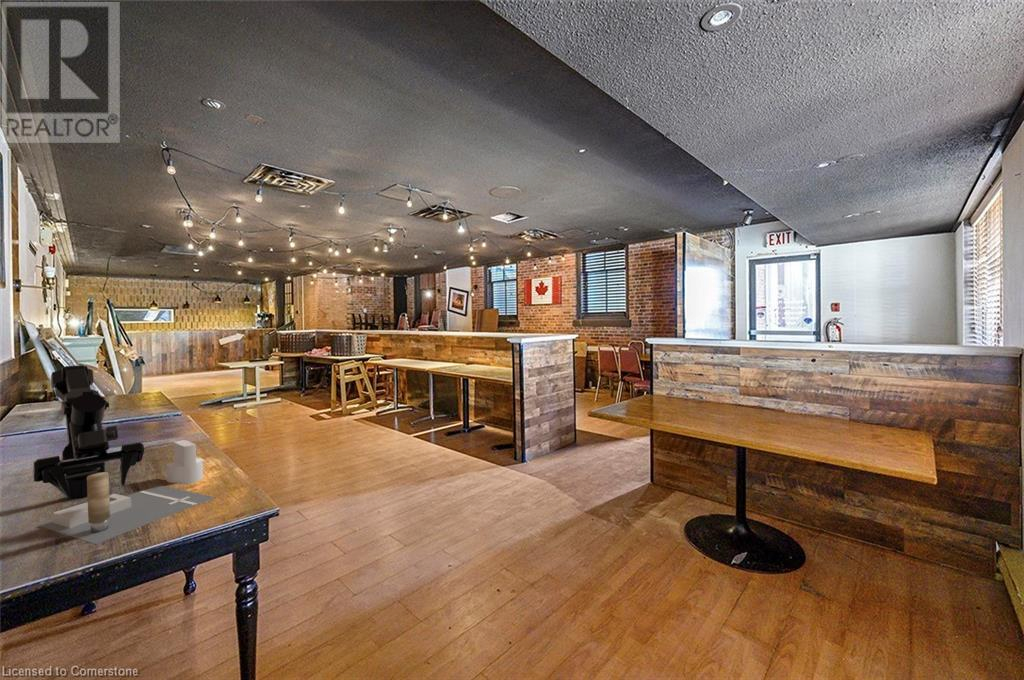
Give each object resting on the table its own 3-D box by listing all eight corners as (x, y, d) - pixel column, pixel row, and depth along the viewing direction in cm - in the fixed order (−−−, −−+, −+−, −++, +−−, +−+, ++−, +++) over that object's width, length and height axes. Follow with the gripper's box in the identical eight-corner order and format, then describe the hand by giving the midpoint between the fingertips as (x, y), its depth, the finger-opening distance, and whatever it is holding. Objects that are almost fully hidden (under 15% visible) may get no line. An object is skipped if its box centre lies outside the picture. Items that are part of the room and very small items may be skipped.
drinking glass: (208, 479, 131) (207, 442, 131) (173, 488, 124) (172, 449, 123) (196, 473, 136) (195, 437, 136) (162, 482, 129) (161, 444, 128)
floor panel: (36, 529, 99) (35, 524, 99) (159, 489, 123) (159, 484, 123) (95, 549, 91) (95, 543, 91) (215, 501, 115) (215, 497, 115)
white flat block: (53, 522, 100) (52, 512, 100) (114, 502, 111) (114, 493, 111) (69, 528, 98) (69, 517, 98) (131, 506, 109) (130, 497, 109)
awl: (85, 532, 96) (83, 476, 95) (104, 524, 99) (103, 471, 99) (94, 534, 95) (92, 478, 94) (114, 527, 98) (112, 473, 98)
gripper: (32, 424, 93) (38, 484, 87) (141, 411, 108) (153, 461, 101) (30, 452, 98) (36, 511, 92) (135, 436, 113) (146, 485, 107)
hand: (97, 490), depth 98 cm, fingers open, 9 cm apart
